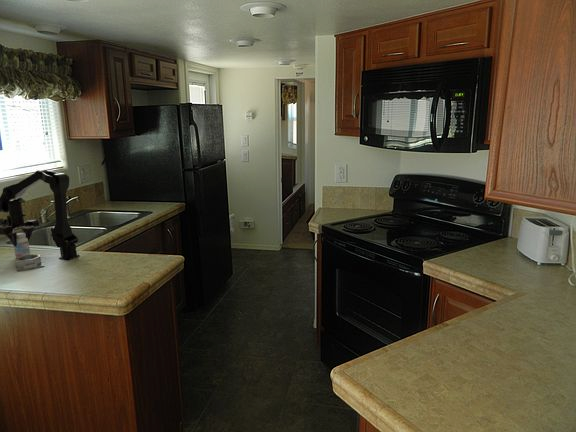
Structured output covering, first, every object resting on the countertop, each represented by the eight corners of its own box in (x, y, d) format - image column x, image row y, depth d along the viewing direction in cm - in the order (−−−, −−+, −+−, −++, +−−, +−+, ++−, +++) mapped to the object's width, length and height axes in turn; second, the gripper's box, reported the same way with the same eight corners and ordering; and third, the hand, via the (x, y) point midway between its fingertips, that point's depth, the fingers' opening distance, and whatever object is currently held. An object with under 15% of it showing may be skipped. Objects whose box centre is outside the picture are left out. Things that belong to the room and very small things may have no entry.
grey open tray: (43, 266, 188) (42, 259, 188) (17, 271, 183) (16, 263, 182) (41, 259, 200) (39, 251, 199) (15, 263, 194) (14, 255, 193)
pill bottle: (13, 257, 203) (9, 234, 201) (25, 254, 208) (22, 231, 206) (20, 259, 200) (16, 236, 198) (33, 255, 206) (29, 233, 203)
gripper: (20, 208, 211) (25, 238, 214) (-16, 216, 194) (-10, 248, 197) (37, 208, 208) (42, 239, 211) (2, 217, 190) (8, 250, 194)
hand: (21, 244), depth 203 cm, fingers closed on pill bottle, 6 cm apart
